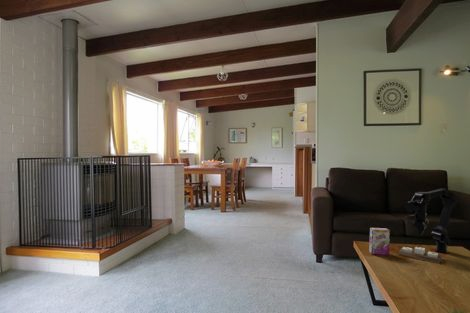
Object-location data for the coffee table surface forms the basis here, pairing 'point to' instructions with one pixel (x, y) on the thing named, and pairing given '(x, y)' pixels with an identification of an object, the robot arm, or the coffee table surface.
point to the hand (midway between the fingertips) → (420, 235)
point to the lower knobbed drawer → (432, 254)
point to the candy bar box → (379, 241)
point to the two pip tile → (419, 250)
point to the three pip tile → (407, 249)
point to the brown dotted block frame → (420, 256)
